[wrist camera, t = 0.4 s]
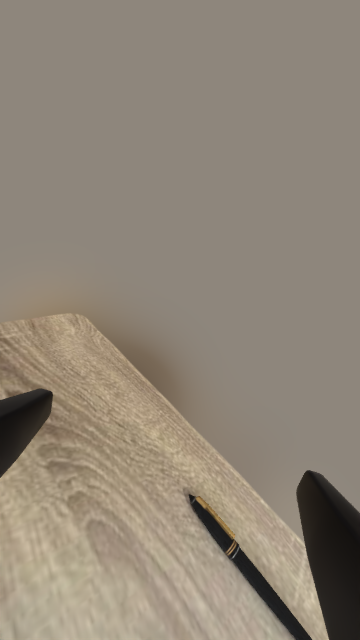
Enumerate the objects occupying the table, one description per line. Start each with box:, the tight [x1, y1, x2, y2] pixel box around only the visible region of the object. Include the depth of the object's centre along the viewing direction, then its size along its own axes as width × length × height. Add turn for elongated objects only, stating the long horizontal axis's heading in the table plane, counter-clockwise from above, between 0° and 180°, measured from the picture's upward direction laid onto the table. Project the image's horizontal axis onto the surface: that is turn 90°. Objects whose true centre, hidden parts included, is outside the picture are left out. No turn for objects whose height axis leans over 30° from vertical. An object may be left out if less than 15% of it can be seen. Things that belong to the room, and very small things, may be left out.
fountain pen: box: [189, 495, 312, 640], centre depth 18 cm, size 14×1×2 cm, turn 48°
